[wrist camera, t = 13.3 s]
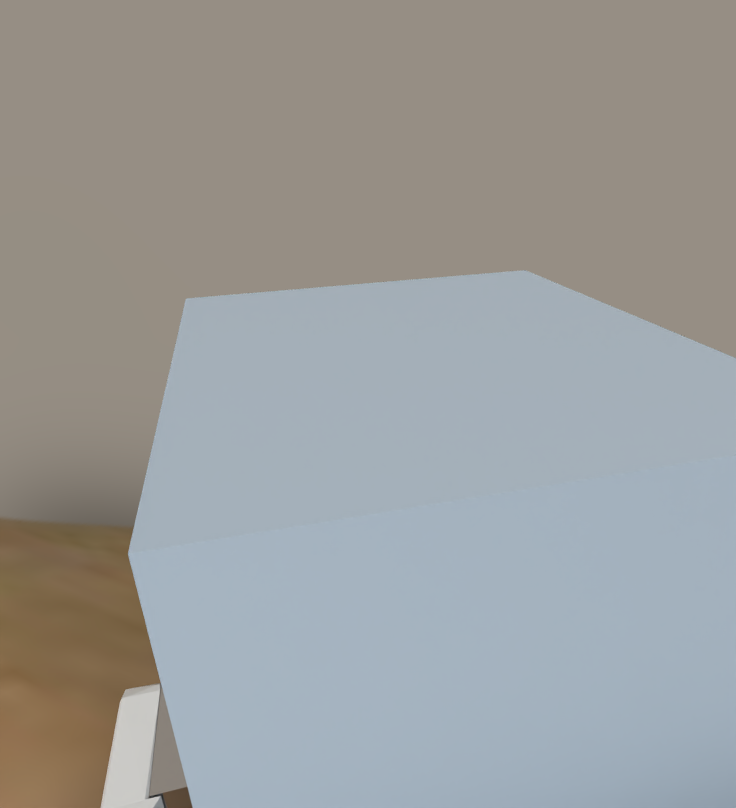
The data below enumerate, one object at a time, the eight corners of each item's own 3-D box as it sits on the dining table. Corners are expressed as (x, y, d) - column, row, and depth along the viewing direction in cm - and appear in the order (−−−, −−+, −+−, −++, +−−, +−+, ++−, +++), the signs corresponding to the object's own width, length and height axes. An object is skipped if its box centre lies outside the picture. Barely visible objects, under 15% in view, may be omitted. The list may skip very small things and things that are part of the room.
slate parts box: (476, 817, 15) (519, 267, 9) (609, 1167, 10) (904, 427, 4) (281, 871, 14) (186, 295, 8) (315, 1290, 9) (129, 553, 3)
